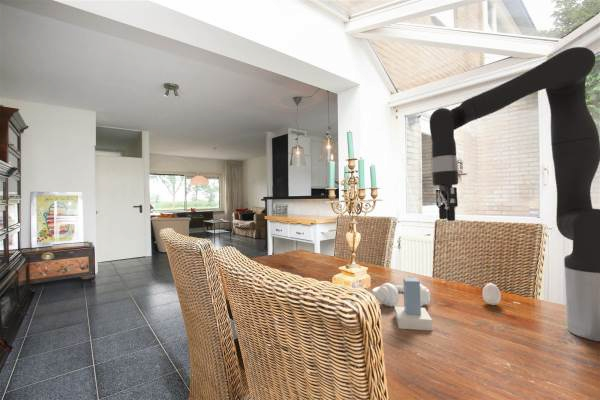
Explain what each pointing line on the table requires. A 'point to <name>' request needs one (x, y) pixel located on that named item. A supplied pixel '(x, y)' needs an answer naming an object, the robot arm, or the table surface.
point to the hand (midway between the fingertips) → (446, 219)
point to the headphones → (390, 294)
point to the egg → (491, 294)
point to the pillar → (412, 296)
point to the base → (413, 320)
